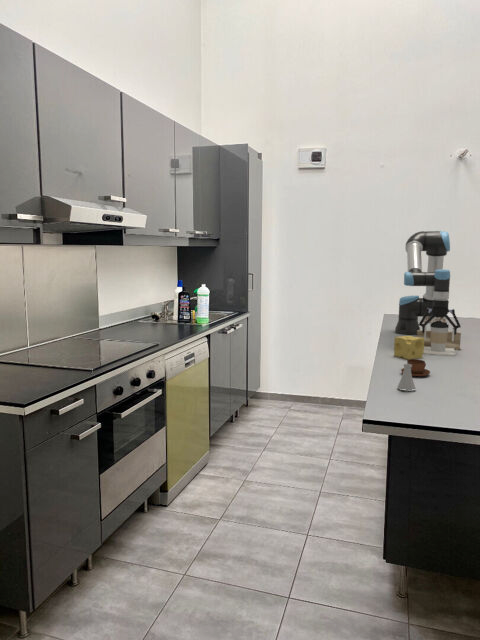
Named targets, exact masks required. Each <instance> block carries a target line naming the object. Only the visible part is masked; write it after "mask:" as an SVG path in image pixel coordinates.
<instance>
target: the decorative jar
mask: <svg viewBox="0 0 480 640" xmlns="http://www.w3.org/2000/svg"><path fill="white" fill-rule="evenodd" d="M429 318H430V317H426V318H425V320H424V321H423V323H425V322H426V321H427V320H428V319H429ZM436 321H441V322H445V323H447V319H446V317H443V318H441V317H439V318H437V317H434V318H433V319H432V320H431V321H430V322H429V323H428V324H432V323H433V322H436Z"/></svg>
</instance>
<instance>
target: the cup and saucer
mask: <svg viewBox="0 0 480 640" xmlns="http://www.w3.org/2000/svg"><path fill="white" fill-rule="evenodd" d="M406 364H411V365H412V367H411V375H412V377H416V376H417V377H418V378H419V377H427V376H428V375H430V373H431V371H430V370H429V369H426V366H427V364H426V361H425V360H422V359H418V358H415V359H409V360H408V359H406ZM400 369H401V368H400ZM400 371H401V372H402V373H403V372H404V367H403V368H402V369H401V370H400ZM417 377H416V378H417Z"/></svg>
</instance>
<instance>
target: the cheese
mask: <svg viewBox="0 0 480 640" xmlns="http://www.w3.org/2000/svg"><path fill="white" fill-rule="evenodd" d="M393 347H394V348H393V352H394V354H393V355H394V357H398V358H403V359H405V360H410V359H422V358H423V356H424V354H423V351H424V338H419V337H417V336H412V335H403V336H395V337H394V346H393Z"/></svg>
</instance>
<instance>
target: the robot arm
mask: <svg viewBox="0 0 480 640" xmlns="http://www.w3.org/2000/svg"><path fill="white" fill-rule="evenodd" d="M450 251H451V241H450V234H449V232H448V231H444V230H443V231H441V230H437V231H436V230H433V231H432V230H431V231H430V230H429V231H427V230H425V231H418V232H415V233H414V234H412V235H411V236H409V238H408V239H407V241H406V242H405V252H406V255H407V256H406V257H407V259H406V260H407V271H405V272H404V274H403V285H404V286H409V287H425V293H423V295H422V297H420V295H416V294H415V295H406V296H405V295H404V296H401V297H400V298H399V302H398V319H397V322H396V323H397V324H396V326H395V328H394V329H395V330H394V332H395V333H396V334H399V335H409V336H412V335H417V330H422V333H424V340H426V330H427V325H428V324H430V323H429V322H430V321H431V320H432V319H433V318H434V317H437V318H439V317H441V318H443V317H446V321H448V322H449V323H450V325H451V326H452V329H451V330H452V331H451V332H452V341H454V335H456V332H458V331H457V329H459V328H460V329H461V328H462V327H461V324H460V322H459V319H458V317H457V316H456V315H457V314H456V311H455V309H454V308H453V309H449V302H450V301H449V299H450V281H451V271H450V269H444V259H445V256H447V255H448V252H450ZM422 252H425V254H426V256H427V258H428V260H427V270H426V271H423V267H422V265H423V264H422ZM449 313H450V314H452V316H453V319H454V321H455V323H456V324H455V323H454V321H453V320H452V319H451V317H449V315H448V314H449ZM419 317H421V320H420V321H419ZM426 317H430V318H429V319H428V320H427V321H426V322H423V321H424V320H425V318H426Z"/></svg>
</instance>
